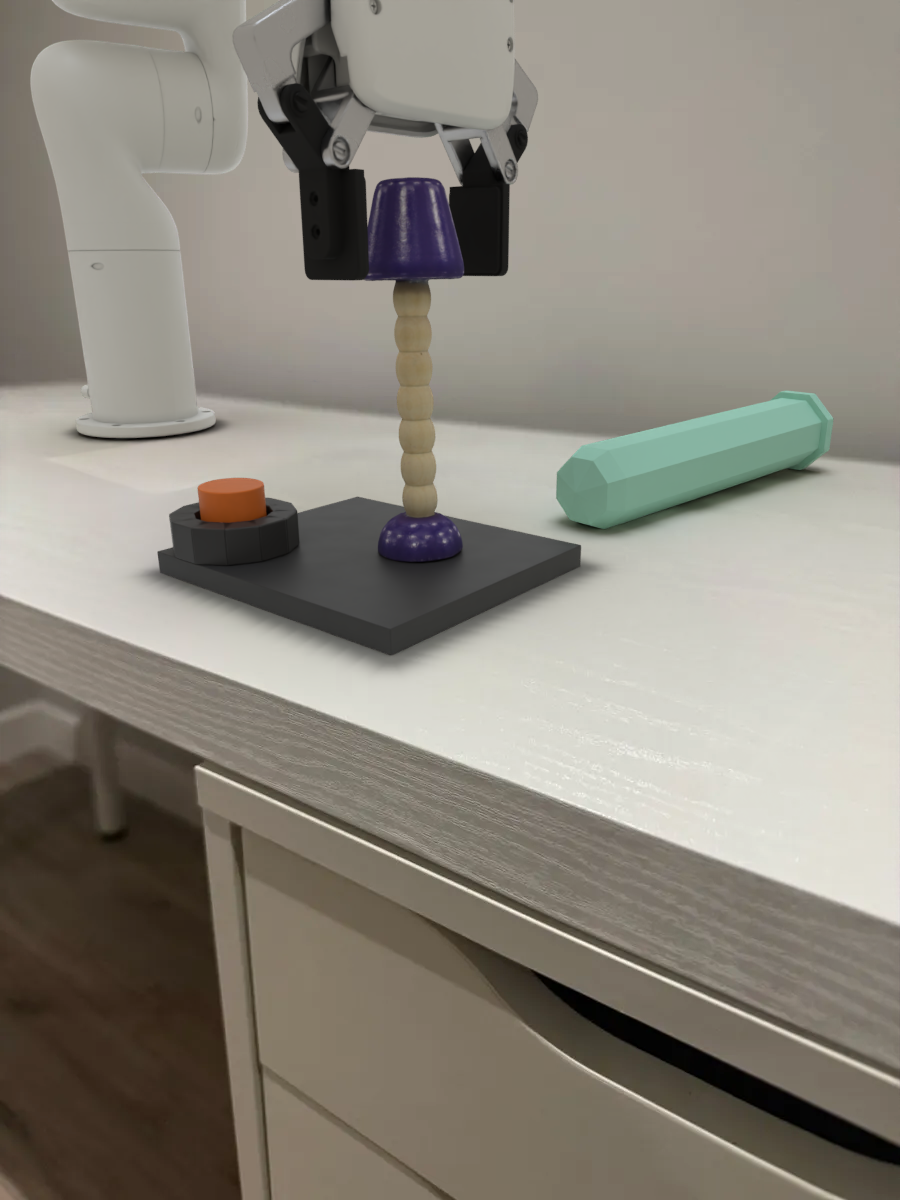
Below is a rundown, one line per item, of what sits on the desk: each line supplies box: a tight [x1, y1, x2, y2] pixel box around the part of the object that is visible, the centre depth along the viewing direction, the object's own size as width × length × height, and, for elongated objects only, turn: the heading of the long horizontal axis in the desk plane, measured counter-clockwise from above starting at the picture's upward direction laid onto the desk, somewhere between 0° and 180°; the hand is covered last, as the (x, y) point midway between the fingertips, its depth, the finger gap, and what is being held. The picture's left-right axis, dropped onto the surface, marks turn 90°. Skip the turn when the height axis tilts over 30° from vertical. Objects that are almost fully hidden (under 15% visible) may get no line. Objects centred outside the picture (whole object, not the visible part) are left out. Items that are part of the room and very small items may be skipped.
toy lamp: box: [363, 176, 464, 562], centre depth 41 cm, size 5×5×17 cm
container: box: [555, 390, 834, 530], centre depth 57 cm, size 6×6×25 cm
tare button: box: [196, 477, 267, 523], centre depth 44 cm, size 3×3×2 cm
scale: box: [157, 496, 582, 656], centre depth 44 cm, size 16×14×3 cm
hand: (413, 276), depth 39 cm, fingers open, 9 cm apart
